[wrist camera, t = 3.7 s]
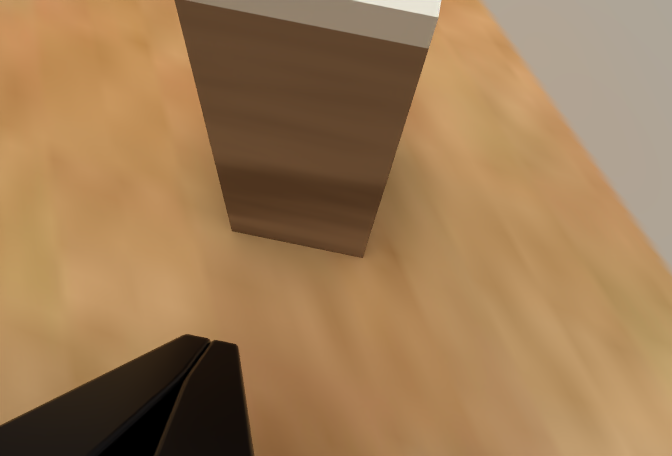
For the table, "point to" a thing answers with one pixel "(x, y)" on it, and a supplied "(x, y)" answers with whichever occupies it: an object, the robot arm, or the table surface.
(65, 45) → the table surface
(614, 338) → the table surface
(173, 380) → the robot arm
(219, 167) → the walnut block
